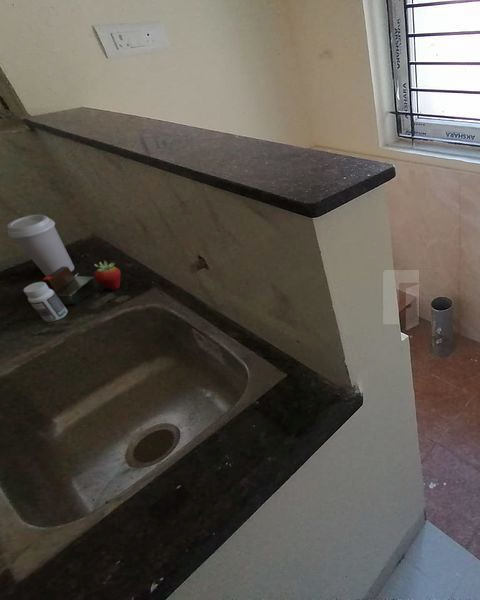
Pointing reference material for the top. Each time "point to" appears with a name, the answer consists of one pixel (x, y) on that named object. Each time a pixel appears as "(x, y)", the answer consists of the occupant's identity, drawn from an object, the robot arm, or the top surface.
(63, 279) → the dark red block
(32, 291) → the pill bottle
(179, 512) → the top surface
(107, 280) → the fruit
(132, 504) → the top surface
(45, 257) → the coffee cup
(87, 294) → the dial panel
